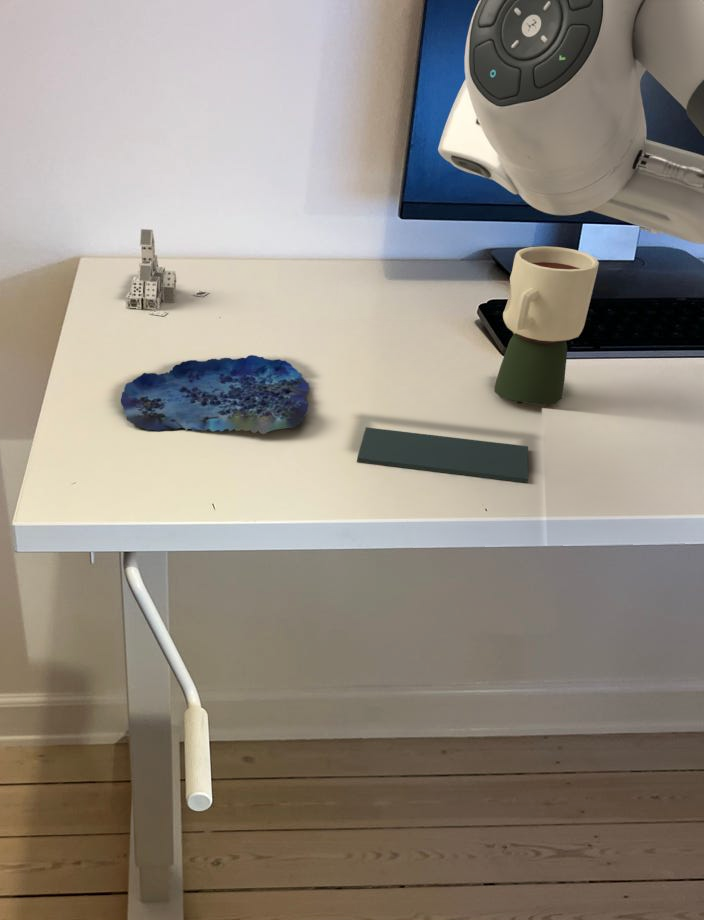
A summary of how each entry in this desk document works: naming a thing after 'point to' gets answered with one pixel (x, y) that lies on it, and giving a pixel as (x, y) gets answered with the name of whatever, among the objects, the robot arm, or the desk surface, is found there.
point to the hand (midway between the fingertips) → (595, 203)
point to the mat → (444, 454)
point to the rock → (219, 396)
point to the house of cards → (152, 280)
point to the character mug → (543, 321)
